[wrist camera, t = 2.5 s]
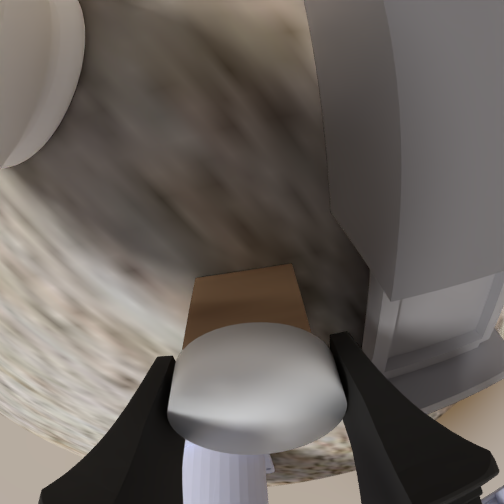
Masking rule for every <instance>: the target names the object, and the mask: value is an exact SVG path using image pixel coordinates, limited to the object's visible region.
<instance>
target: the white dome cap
mask: <svg viewBox="0 0 504 504" xmlns="http://www.w3.org/2000/svg"><path fill="white" fill-rule="evenodd" d="M346 410H347V401H346V397H345V394H344V390H343V387H342V383H341V380H340V377H339V373H338V370H337V367H336V364H335V360H334V357H333V354H332V352H331V350H330V349H329V347H328V346H327V345H326V344H325V343H324V342H323V341H322V340H321V339H320V338H318V337H317V336H315V335H313V334H312V333H310V332H308V331H305V330H303V329H300V328H297V327H294V326H290V325H285V324H279V323H268V322H252V323H241V324H235V325H230V326H226V327H222V328H219V329H215V330H213V331H210V332H208V333H205V334H204V335H202V336H200V337H198V338H196V339H195V340H194V341H192V342H191V343H189V344H188V345H187V346H186V347H185V348H184V349H183V350H182V352H181V353H180V354H179V356H178V358H177V360H176V363H175V368H174V373H173V379H172V385H171V391H170V397H169V404H168V410H167V417H168V420H169V423H170V425H171V426H172V428H173V429H174V430H175V431H176V432H177V433H178V434H179V435H180V436H182V437H183V438H185V439H186V440H188V441H189V442H191V443H194V444H196V445H198V446H201V447H203V448H206V449H210V450H213V451H217V452H222V453H229V454H238V455H261V454H271V453H278V452H283V451H288V450H292V449H295V448H298V447H301V446H304V445H307V444H309V443H311V442H314V441H316V440H318V439H320V438H321V437H323V436H325V435H326V434H328V433H329V432H330V431H332V430H333V429H334V428H335V427H336V426H337V425H338V424H339V423H340V422H341V420H342V419H343V417H344V415H345V413H346Z"/></svg>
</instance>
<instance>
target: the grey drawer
mask: <svg viewBox="0 0 504 504" xmlns="http://www.w3.org/2000/svg"><path fill="white" fill-rule="evenodd" d="M503 305H504V271H502V272H499V273H496V274H492V275H489V276H486V277H483V278H480V279H476V280H473V281H469V282H466V283H463V284H459V285H456V286H452V287H448V288H445V289H441V290H437V291H433V292H430V293H426V294H422V295H418V296H414V297H410V298H406V299H401V300H397V301H393V302H390V300H389V298H388V297H387V295H386V293H385V292H384V290H383V289H382V287H381V286H380V284H379V282H378V281H377V279H376V278H375V276H374V275H373V273H372V272H371V270H370V279H369V291H368V302H367V312H366V321H365V329H364V337H363V344H362V351H363V352H364V353H365V354H366V356H367V357H368V358H369V359H370V361H371V362H372V363H373V364H374V365H375V366H376V367H377V368H378V370H379V371H380V372H381V373H382V374H383V375H384V376H385V377H386V378H387V379H388V380H389V381H390V382H391V383H392V384H393V385H394V386H395V387H396V388H397V389H398V390H399V391H400V392H401V393H402V394H403V395H404V396H405V397H406V398H407V399H409V400H410V401H411V402H412V403H413V404H414V405H416V406H417V407H418V408H419V409H420V410H422V411H423V412H424V413H426V414H429V413H432V412H434V411H437V410H439V409H442V408H444V407H447V406H449V405H451V404H454V403H456V402H458V401H460V400H462V399H464V398H467V397H469V396H471V395H473V394H475V393H477V392H479V391H481V390H483V389H485V388H487V387H489V386H491V385H492V384H495V383H496V382H498V381H500V380H502V379H504V340H503V339H502V337H501V336H500V335H499V333H498V332H497V331H496V329H495V328H494V327H495V325H496V323H497V320H498V318H499V315H500V313H501V311H502V308H503Z"/></svg>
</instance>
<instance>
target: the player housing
mask: <svg viewBox="0 0 504 504" xmlns="http://www.w3.org/2000/svg"><path fill="white" fill-rule="evenodd" d="M304 3H305V8H306V13H307V18H308V23H309V29H310V34H311V40H312V45H313V51H314V57H315V64H316V70H317V77H318V84H319V91H320V99H321V107H322V115H323V124H324V134H325V144H326V155H327V167H328V180H329V195H330V212H331V213H332V215H333V216H334V218H335V219H336V220H337V222H338V223H339V225H340V226H341V227H342V229H343V230H344V232H345V233H346V235H347V236H348V237H349V239H350V240H351V242H352V243H353V245H354V246H355V248H356V249H357V251H358V252H359V253H360V255H361V256H362V258H363V259H364V261H365V262H366V264H367V265H368V267H369V269H370V270H371V272H372V273H373V275H374V276H375V278H376V279H377V281H378V282H379V284H380V286H381V287H382V289H383V290H384V292H385V293H386V295H387V297H388V298H389V300H390V302H393V301H397V300H401V299H406V298H410V297H414V296H418V295H422V294H426V293H430V292H433V291H437V290H441V289H445V288H448V287H452V286H456V285H459V284H463V283H466V282H469V281H473V280H476V279H480V278H483V277H486V276H489V275H492V274H496V273H499V272H502V271H504V0H304Z"/></svg>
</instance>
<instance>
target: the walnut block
mask: <svg viewBox="0 0 504 504" xmlns="http://www.w3.org/2000/svg"><path fill="white" fill-rule="evenodd" d="M252 322H268V323H279V324H285V325H290V326H294V327H297V328H300V329H303V330H305V331H308V332H310V333H311V329H310V326H309V322H308V319H307V315H306V311H305V308H304V304H303V301H302V297H301V294H300V290H299V287H298V283H297V280H296V276H295V273H294V269H293V266H292V263H291V264H285V265H278V266H272V267H265V268H259V269H252V270H246V271H239V272H233V273H226V274H219V275H213V276H206V277H199V278H195V283H194V288H193V293H192V298H191V303H190V309H189V314H188V319H187V325H186V330H185V336H184V342H183V348H182V350H183V349H184V348H185V347H186V346H187V345H188V344H189V343H191V342H192V341H194V340H195V339H196V338H198V337H200V336H202V335H204V334H205V333H208V332H210V331H213V330H215V329H219V328H222V327H226V326H230V325H235V324H241V323H252Z"/></svg>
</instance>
